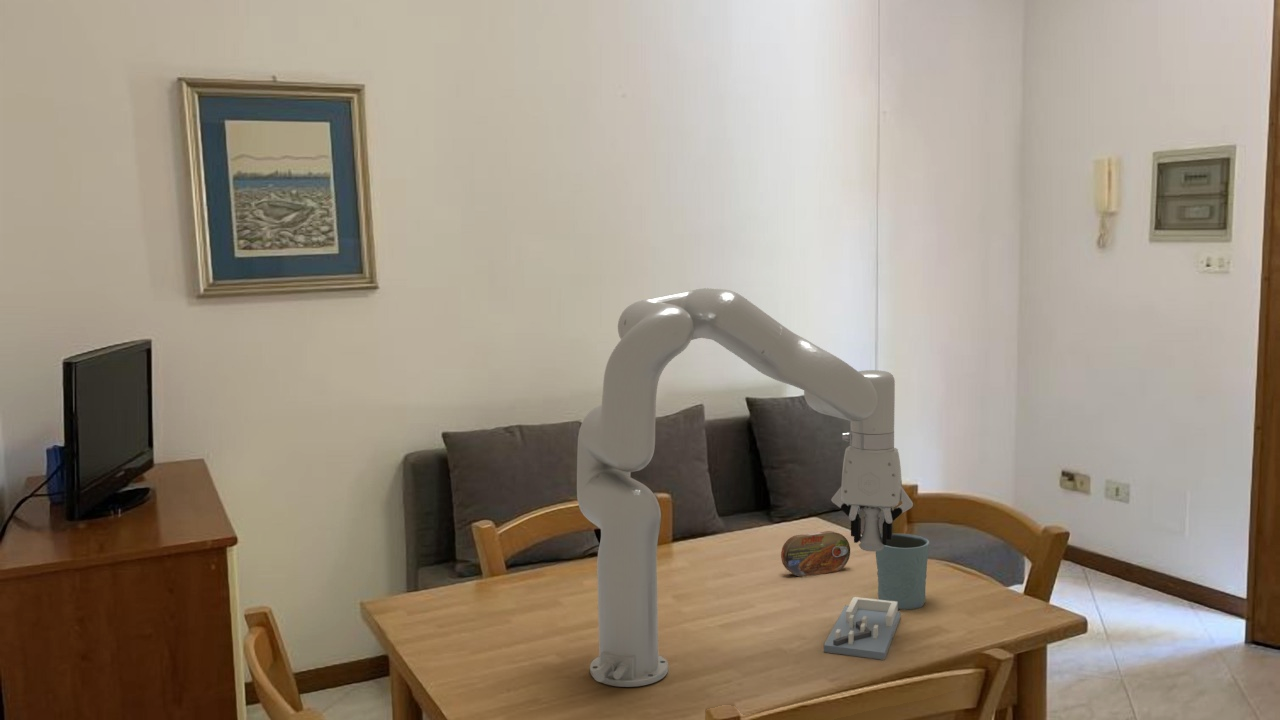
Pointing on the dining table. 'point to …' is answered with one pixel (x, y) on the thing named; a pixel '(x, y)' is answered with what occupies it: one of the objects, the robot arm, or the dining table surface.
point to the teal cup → (903, 570)
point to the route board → (864, 628)
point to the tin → (815, 553)
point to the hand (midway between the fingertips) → (871, 540)
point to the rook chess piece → (871, 530)
